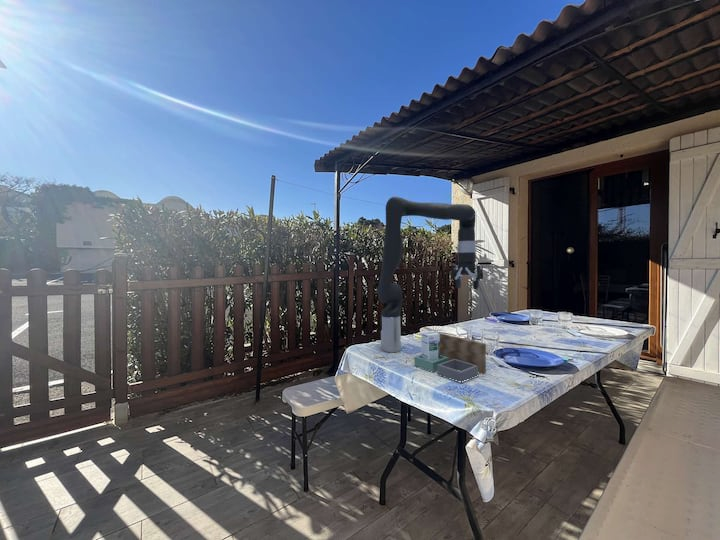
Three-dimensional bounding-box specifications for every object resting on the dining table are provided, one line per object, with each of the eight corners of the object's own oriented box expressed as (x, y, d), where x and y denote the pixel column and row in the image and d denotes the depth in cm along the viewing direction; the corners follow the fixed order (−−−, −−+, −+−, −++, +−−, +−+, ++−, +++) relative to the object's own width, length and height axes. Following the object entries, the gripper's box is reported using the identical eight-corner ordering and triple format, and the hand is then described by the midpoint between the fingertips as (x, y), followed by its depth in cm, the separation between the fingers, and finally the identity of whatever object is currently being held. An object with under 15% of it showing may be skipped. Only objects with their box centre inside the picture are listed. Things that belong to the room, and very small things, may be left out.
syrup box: (428, 369, 129) (428, 334, 128) (421, 364, 135) (421, 331, 134) (440, 367, 131) (440, 333, 130) (433, 363, 137) (432, 330, 136)
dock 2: (437, 374, 123) (437, 364, 123) (454, 368, 130) (454, 358, 130) (461, 383, 114) (461, 372, 114) (478, 375, 121) (478, 365, 121)
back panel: (433, 358, 142) (433, 332, 142) (435, 357, 143) (435, 331, 143) (483, 374, 122) (483, 344, 122) (485, 373, 123) (485, 343, 123)
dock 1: (414, 365, 134) (414, 356, 133) (430, 360, 140) (429, 351, 139) (432, 372, 126) (432, 362, 125) (448, 366, 132) (448, 357, 131)
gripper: (447, 252, 139) (447, 288, 140) (476, 251, 128) (476, 290, 128) (457, 251, 144) (458, 287, 144) (486, 251, 132) (486, 289, 133)
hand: (466, 288), depth 136 cm, fingers open, 8 cm apart
